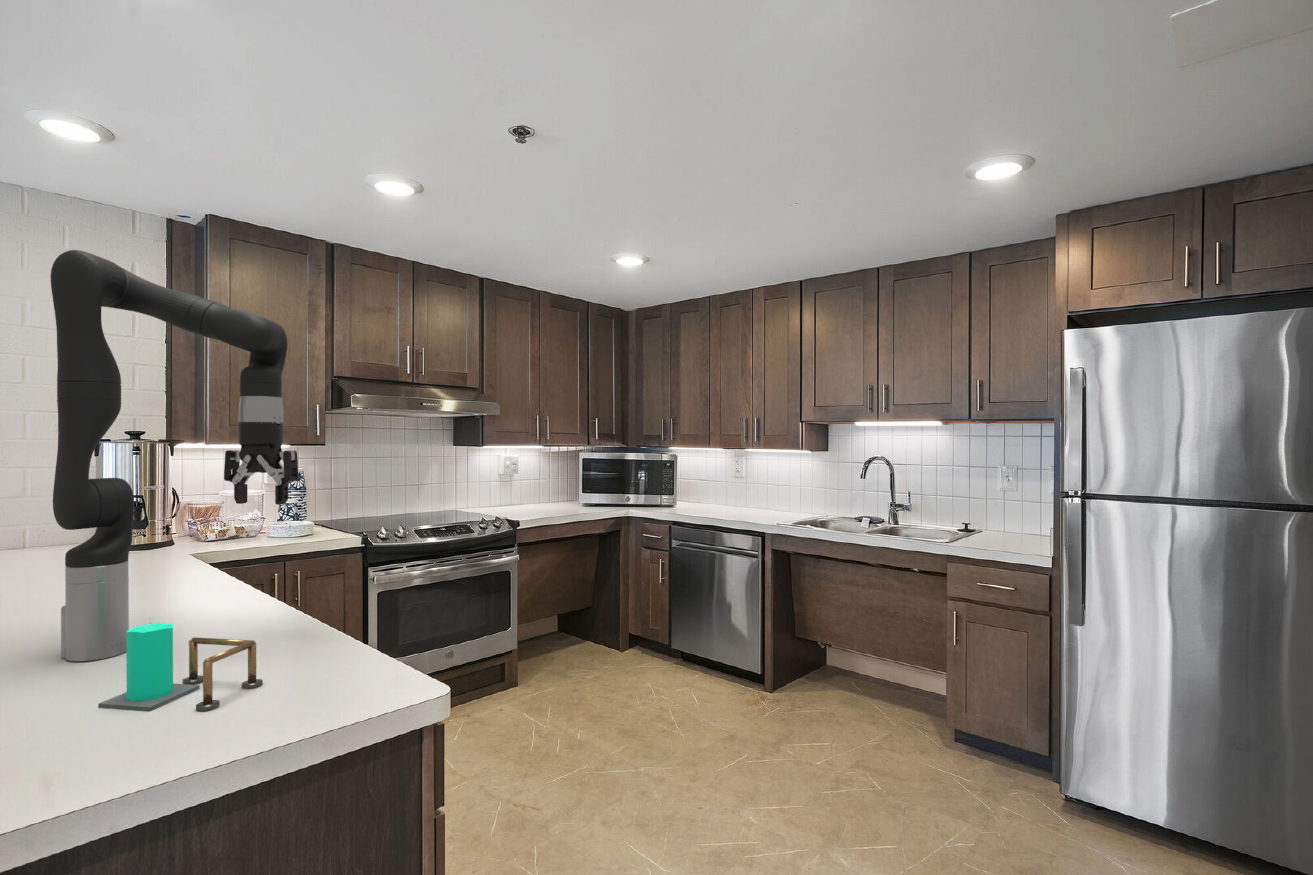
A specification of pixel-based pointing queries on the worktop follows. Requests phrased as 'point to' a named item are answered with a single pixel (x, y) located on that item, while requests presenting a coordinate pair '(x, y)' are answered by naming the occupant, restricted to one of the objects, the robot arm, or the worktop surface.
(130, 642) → the candle
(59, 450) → the robot arm
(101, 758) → the worktop surface
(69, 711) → the worktop surface
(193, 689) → the coaster
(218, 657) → the handrail
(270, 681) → the worktop surface
